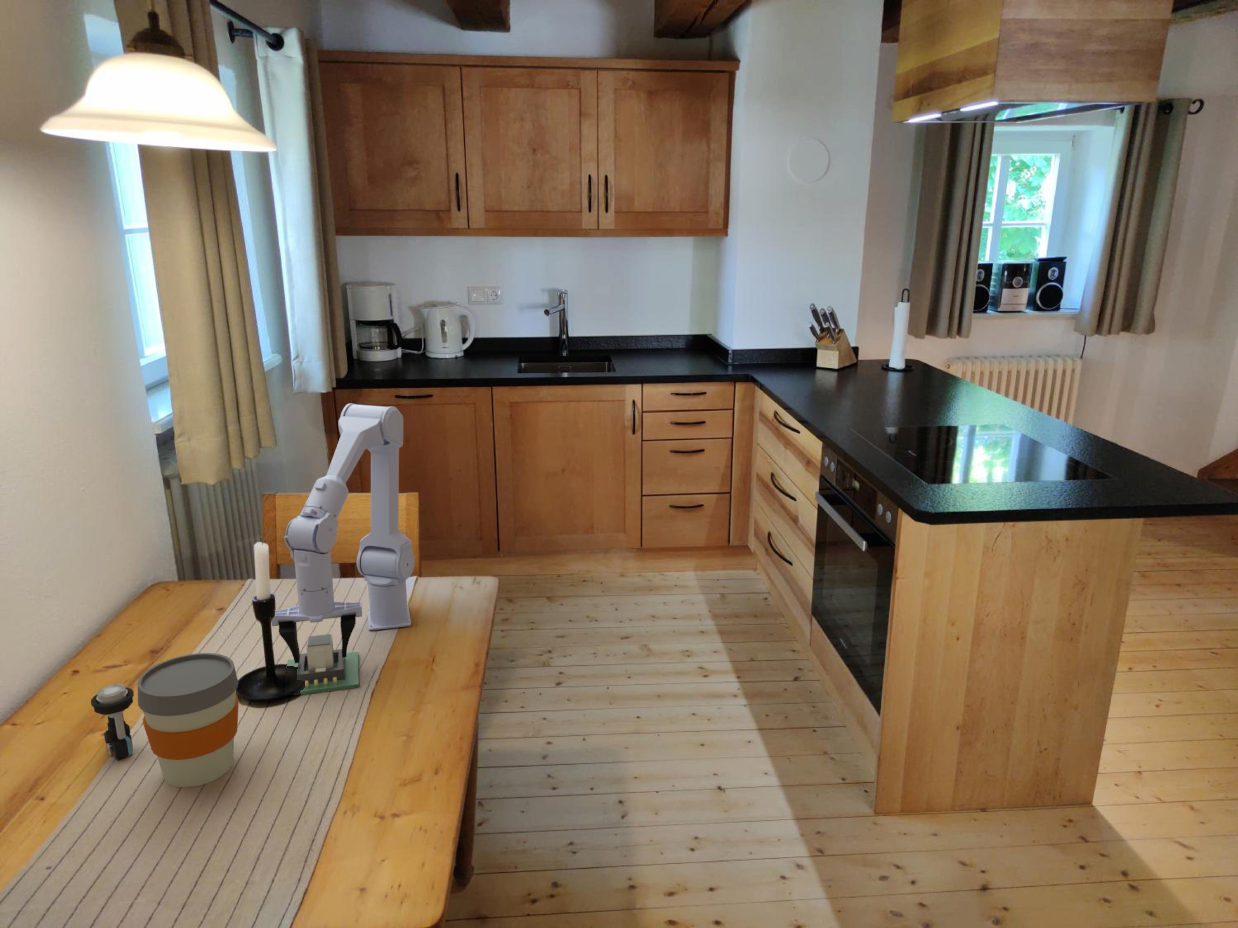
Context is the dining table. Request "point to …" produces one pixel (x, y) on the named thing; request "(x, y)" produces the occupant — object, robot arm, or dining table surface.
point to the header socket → (328, 673)
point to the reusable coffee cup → (191, 716)
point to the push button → (115, 718)
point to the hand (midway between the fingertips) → (321, 657)
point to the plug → (320, 652)
